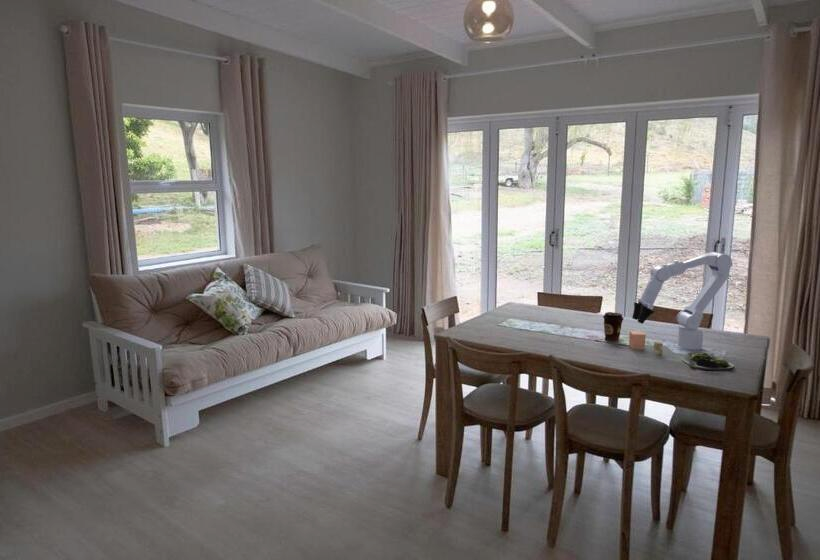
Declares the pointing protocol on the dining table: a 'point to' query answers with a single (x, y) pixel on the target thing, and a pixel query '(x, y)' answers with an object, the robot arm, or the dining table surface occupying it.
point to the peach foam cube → (637, 340)
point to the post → (658, 348)
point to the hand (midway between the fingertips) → (637, 320)
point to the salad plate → (707, 362)
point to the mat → (650, 352)
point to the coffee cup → (612, 326)
